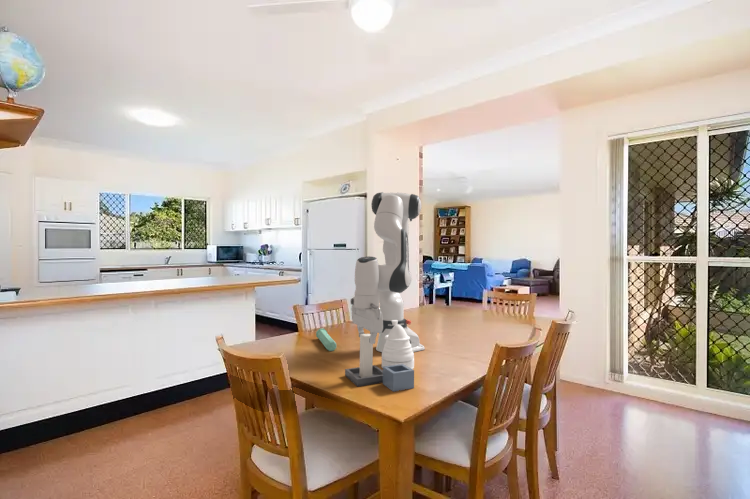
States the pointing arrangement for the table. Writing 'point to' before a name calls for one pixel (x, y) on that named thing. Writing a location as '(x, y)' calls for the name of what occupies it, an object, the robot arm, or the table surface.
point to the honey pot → (397, 348)
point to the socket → (398, 377)
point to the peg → (366, 356)
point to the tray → (359, 381)
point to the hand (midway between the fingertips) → (366, 340)
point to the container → (326, 339)
